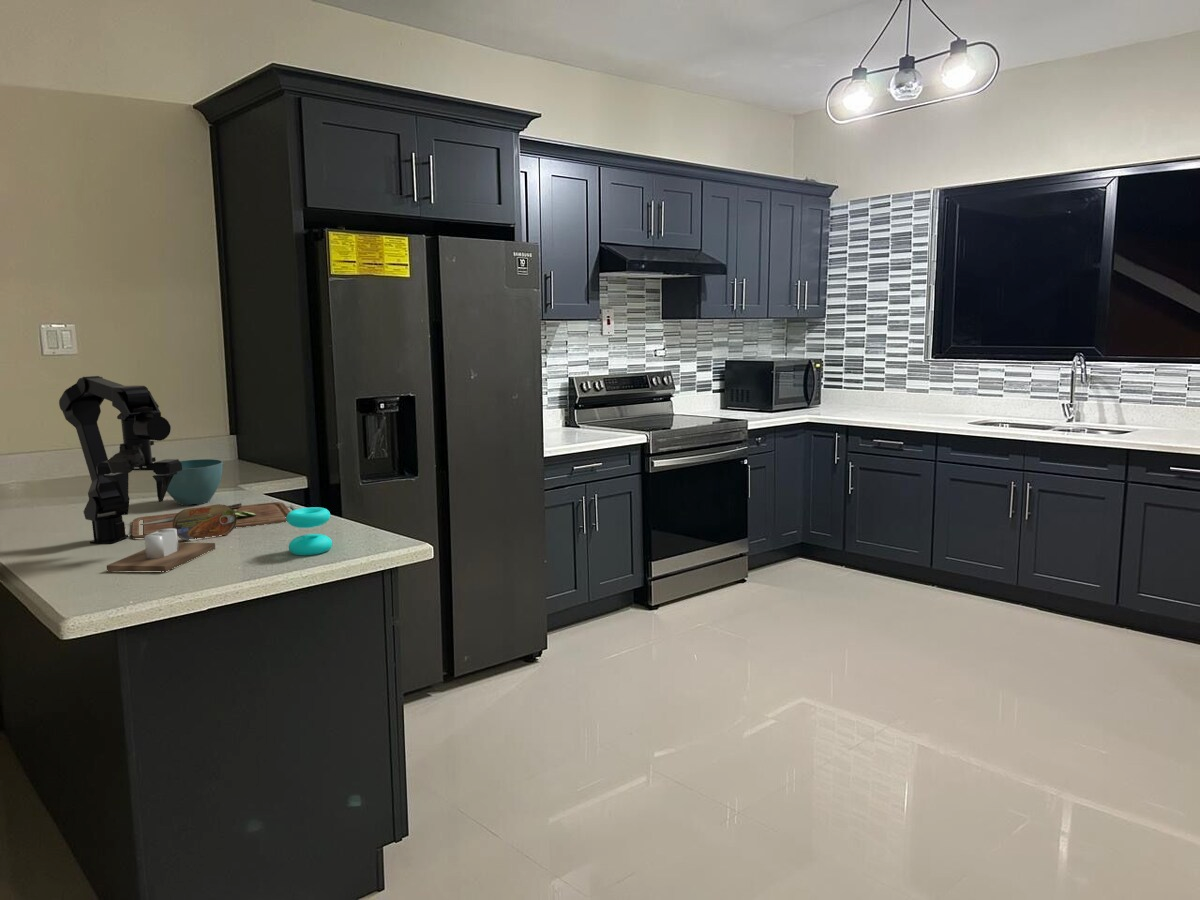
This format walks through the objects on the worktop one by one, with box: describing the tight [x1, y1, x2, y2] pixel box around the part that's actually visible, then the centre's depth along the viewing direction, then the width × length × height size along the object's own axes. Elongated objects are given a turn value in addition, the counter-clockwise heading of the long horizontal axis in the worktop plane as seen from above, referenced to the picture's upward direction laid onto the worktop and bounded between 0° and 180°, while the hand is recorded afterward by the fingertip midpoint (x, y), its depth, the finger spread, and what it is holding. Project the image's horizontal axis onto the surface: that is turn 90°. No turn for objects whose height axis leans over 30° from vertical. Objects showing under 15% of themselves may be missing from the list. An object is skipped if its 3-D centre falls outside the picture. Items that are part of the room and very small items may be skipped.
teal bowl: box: [166, 458, 224, 506], centre depth 265 cm, size 18×18×12 cm
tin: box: [173, 503, 237, 541], centre depth 221 cm, size 15×3×8 cm, turn 126°
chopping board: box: [124, 501, 297, 539], centre depth 241 cm, size 45×27×3 cm, turn 118°
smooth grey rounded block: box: [143, 528, 179, 559], centre depth 200 cm, size 4×9×5 cm, turn 173°
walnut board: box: [106, 542, 216, 573], centre depth 201 cm, size 14×20×2 cm
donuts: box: [286, 506, 333, 556], centre depth 205 cm, size 10×10×10 cm
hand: (143, 501), depth 209 cm, fingers open, 9 cm apart
